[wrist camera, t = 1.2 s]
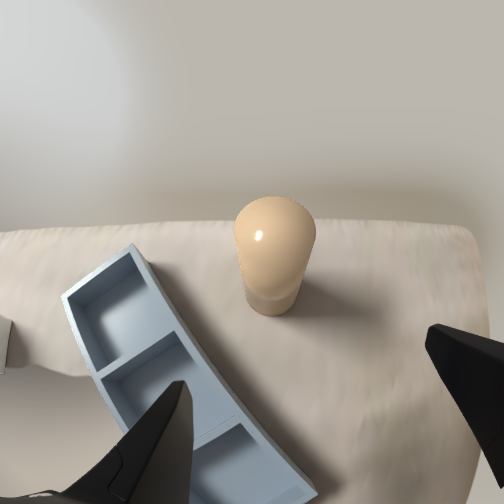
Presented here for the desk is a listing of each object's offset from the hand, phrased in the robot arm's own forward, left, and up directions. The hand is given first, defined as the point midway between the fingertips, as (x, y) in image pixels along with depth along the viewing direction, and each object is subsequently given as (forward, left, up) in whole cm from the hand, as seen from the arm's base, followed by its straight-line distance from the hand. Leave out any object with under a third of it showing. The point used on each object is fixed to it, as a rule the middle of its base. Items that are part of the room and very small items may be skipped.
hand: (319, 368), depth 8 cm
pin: (+5, -6, -13) cm, 15 cm away
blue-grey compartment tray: (+6, +7, -13) cm, 16 cm away
